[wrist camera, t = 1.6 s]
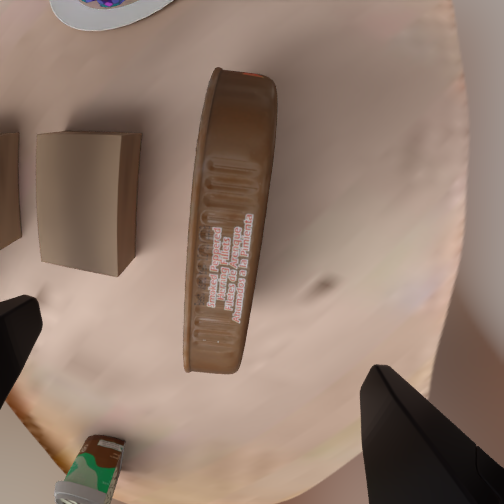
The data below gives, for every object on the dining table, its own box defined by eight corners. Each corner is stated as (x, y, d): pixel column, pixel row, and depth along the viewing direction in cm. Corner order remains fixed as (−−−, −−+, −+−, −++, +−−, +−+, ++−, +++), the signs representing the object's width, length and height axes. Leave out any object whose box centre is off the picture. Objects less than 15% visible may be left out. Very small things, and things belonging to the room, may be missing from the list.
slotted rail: (-21, 228, 20) (-43, 240, 17) (-25, 136, 17) (-50, 141, 14) (135, 257, 20) (117, 277, 17) (141, 133, 17) (121, 135, 14)
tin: (221, 81, 16) (191, 45, 8) (277, 87, 16) (291, 55, 8) (197, 312, 22) (170, 403, 14) (242, 319, 22) (234, 413, 14)
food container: (75, 413, 27) (42, 482, 18) (126, 435, 28) (101, 509, 19) (79, 457, 32) (57, 511, 23) (120, 474, 33) (102, 531, 23)
